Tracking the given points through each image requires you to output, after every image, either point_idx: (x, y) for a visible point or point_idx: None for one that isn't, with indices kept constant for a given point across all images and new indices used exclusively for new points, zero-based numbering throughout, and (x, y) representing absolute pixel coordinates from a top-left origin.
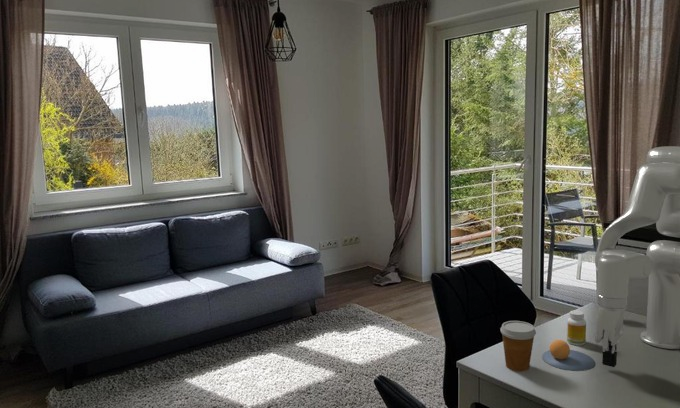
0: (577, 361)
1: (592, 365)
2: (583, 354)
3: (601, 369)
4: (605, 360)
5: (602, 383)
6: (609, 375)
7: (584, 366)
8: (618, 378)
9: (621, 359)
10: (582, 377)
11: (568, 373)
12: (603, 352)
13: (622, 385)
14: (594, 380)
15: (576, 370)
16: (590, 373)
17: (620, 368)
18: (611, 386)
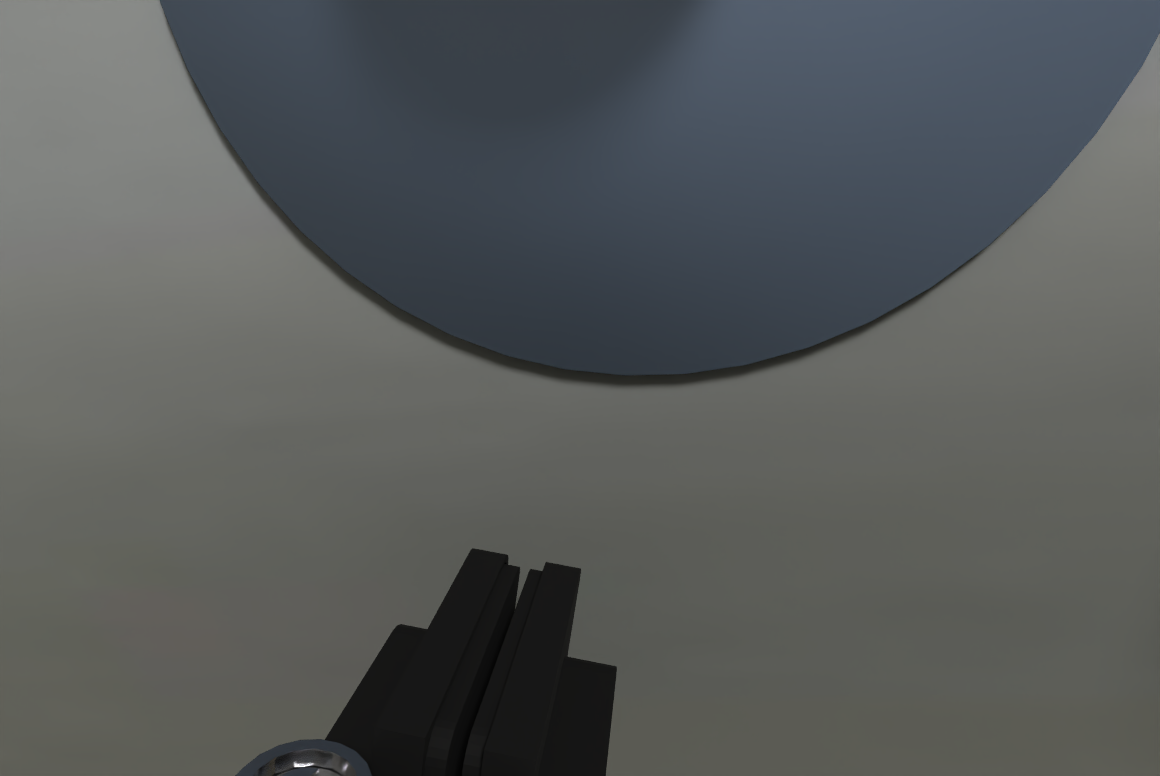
0: (605, 64)
1: (550, 350)
2: (1036, 120)
3: (496, 489)
4: (382, 653)
5: (32, 531)
6: (341, 603)
7: (438, 225)
8: (311, 710)
9: (1065, 750)
10: (39, 250)
11: (38, 3)
12: (394, 711)
13: (133, 751)
14: (53, 426)
15: (219, 116)
16: (252, 348)
17: (675, 734)
18: (21, 636)
